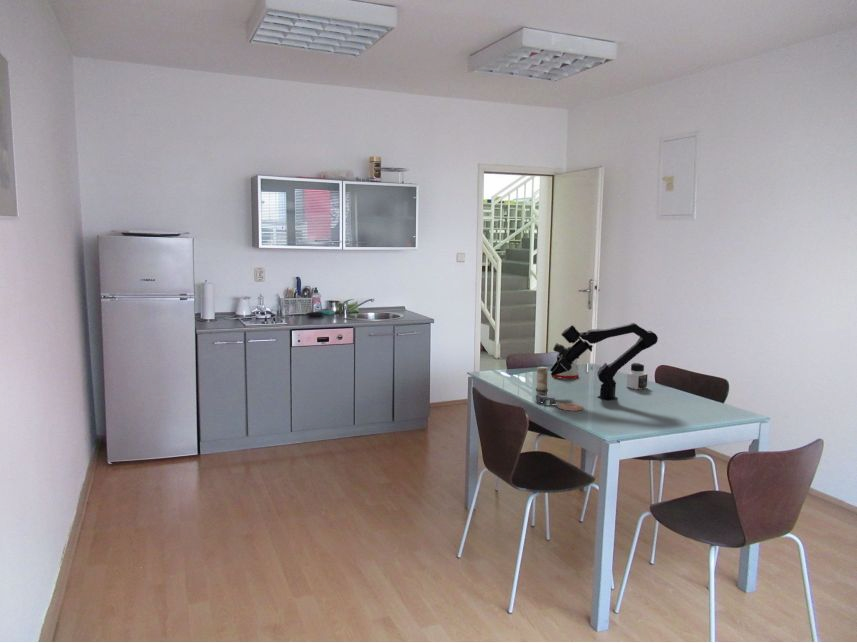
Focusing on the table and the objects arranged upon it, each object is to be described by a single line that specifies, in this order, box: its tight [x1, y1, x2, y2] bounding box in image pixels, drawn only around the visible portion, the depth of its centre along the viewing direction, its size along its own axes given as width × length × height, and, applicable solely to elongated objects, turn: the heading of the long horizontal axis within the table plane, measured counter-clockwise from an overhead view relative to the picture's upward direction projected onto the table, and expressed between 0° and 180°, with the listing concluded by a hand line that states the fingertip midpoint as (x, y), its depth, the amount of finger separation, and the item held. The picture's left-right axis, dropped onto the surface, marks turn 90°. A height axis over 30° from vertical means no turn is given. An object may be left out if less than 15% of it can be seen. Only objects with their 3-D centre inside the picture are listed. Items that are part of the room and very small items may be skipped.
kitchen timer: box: [551, 359, 579, 379], centre depth 339 cm, size 14×14×15 cm
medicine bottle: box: [625, 362, 649, 390], centre depth 315 cm, size 7×7×12 cm
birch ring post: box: [535, 366, 549, 396], centre depth 298 cm, size 6×6×13 cm
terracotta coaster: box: [556, 402, 584, 412], centre depth 278 cm, size 11×11×1 cm
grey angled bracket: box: [536, 392, 557, 405], centre depth 286 cm, size 7×13×3 cm, turn 30°
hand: (551, 373), depth 297 cm, fingers open, 9 cm apart
